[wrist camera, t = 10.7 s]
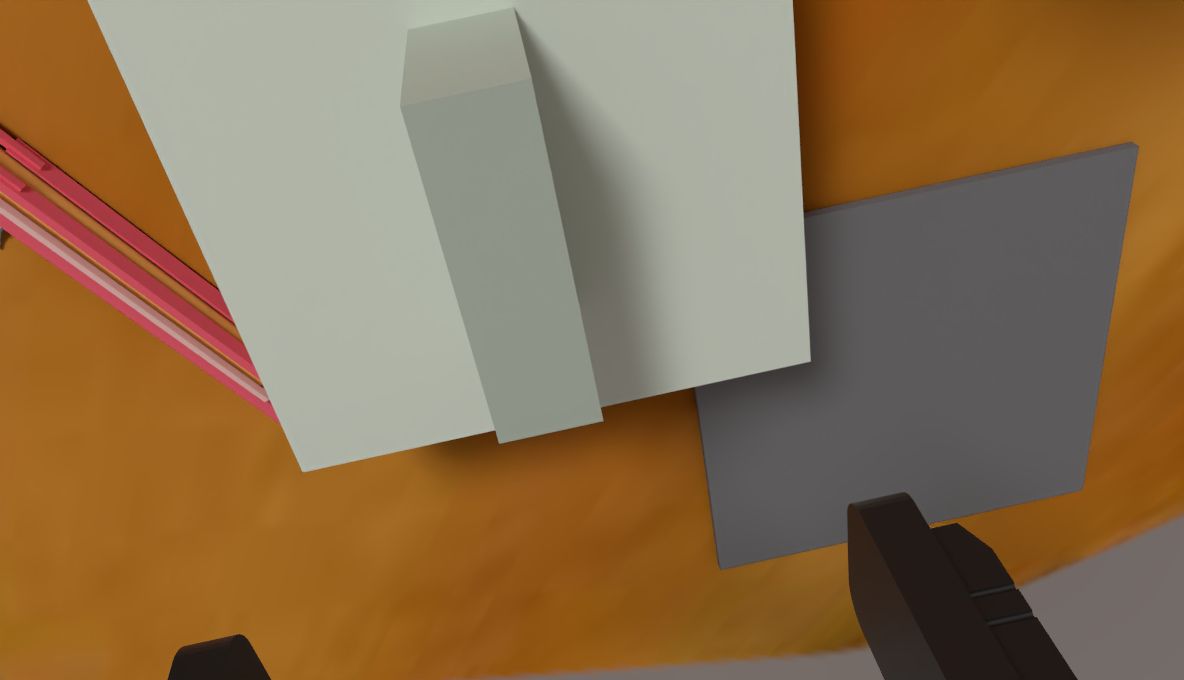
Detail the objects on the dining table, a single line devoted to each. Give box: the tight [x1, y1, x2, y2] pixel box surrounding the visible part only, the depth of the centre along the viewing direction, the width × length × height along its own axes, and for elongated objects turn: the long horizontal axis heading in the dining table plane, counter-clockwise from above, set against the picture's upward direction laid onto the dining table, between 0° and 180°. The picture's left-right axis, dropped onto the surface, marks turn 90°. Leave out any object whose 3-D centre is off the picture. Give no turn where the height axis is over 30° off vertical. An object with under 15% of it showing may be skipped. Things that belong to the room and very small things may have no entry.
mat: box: [694, 142, 1139, 570], centre depth 37 cm, size 16×16×1 cm
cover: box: [88, 0, 811, 472], centre depth 22 cm, size 15×15×6 cm
